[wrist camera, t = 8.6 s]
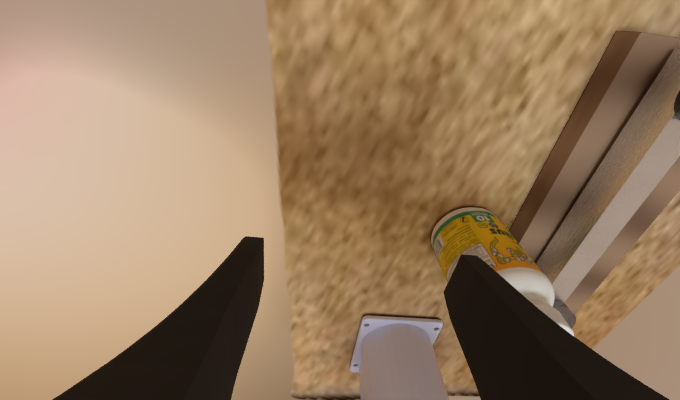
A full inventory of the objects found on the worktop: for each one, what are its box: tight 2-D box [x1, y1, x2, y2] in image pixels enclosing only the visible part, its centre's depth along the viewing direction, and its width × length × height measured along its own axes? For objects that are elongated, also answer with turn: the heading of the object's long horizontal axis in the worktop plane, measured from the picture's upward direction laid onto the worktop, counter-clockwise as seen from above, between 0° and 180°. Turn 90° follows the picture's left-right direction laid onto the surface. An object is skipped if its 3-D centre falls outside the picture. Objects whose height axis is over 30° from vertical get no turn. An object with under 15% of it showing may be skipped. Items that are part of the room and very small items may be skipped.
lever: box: [536, 49, 680, 328], centre depth 18 cm, size 20×4×6 cm, turn 173°
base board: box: [509, 31, 680, 315], centre depth 22 cm, size 22×9×2 cm, turn 173°
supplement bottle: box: [431, 207, 574, 336], centre depth 19 cm, size 5×5×10 cm
